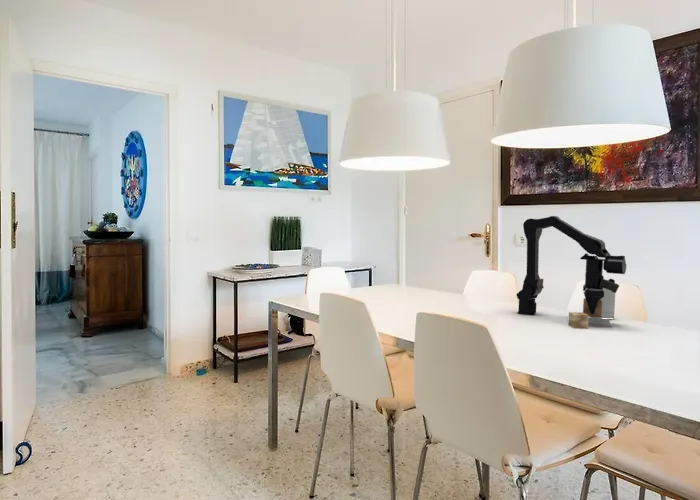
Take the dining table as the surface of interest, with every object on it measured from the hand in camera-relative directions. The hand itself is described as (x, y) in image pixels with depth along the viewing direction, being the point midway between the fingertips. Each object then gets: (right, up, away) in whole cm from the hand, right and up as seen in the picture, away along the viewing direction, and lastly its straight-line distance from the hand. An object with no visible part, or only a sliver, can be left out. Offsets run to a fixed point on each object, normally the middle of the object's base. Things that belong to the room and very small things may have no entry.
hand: (591, 312), depth 179 cm
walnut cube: (0, -1, 0) cm, 1 cm away
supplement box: (+9, -4, +11) cm, 15 cm away
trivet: (0, -4, 0) cm, 4 cm away
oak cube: (-9, -4, -8) cm, 13 cm away
